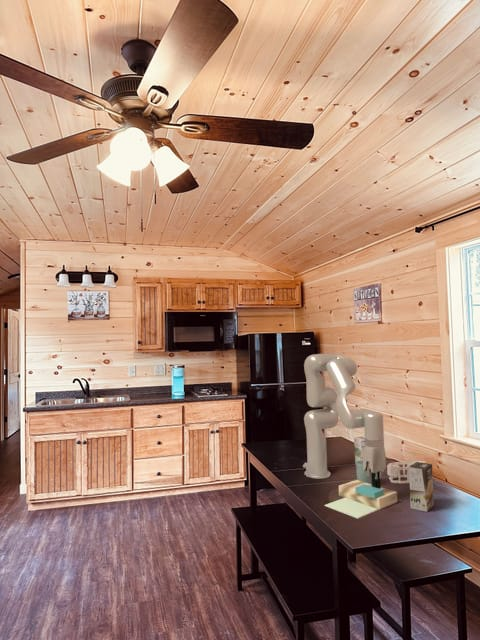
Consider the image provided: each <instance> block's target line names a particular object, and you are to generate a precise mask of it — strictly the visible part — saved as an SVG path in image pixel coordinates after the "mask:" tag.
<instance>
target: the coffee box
mask: <svg viewBox="0 0 480 640" xmlns="http://www.w3.org/2000/svg"><path fill="white" fill-rule="evenodd" d="M433 477H434V476H433V464H432V463H427V462H426V463H420V462H416V463H414V464H412V465H411V466H409V478H410V483H409V499H410V503H409V504H410V506H409V507H410V509H412V510H416V511H420V512H425V513H427V512H428V511H429V510H430V509H431V508H432V507H433V506H434V503H435V502H434V483H433V481H434V480H433Z"/></svg>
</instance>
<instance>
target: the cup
mask: <svg viewBox="0 0 480 640" xmlns="http://www.w3.org/2000/svg"><path fill="white" fill-rule="evenodd" d="M355 468H356V471H355V472H356V477H357V479H356V480H358V481H362V482H365V483H368V484H372V482H371V478H370V476H367V475H366V474H367V471H364V470H363V460H359V461H357V462H356V465H355Z"/></svg>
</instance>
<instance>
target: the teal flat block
mask: <svg viewBox="0 0 480 640" xmlns="http://www.w3.org/2000/svg"><path fill="white" fill-rule="evenodd" d="M355 491H356V493H359V494H362V495H365V496H368V497H371V498H374V499H375V498H377V497H380V496H382V495H384V492H383V490H382V489H379V488H376V487H372V486H369V485H366V484H364V485H361V486H358V487H355Z"/></svg>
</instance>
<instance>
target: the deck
mask: <svg viewBox="0 0 480 640" xmlns="http://www.w3.org/2000/svg"><path fill="white" fill-rule="evenodd" d="M364 484H366V485H369V486H372V484H368V483H365V482H362V481H358V479H355V480H351V481H349V482H346V483H343V484H340V485H338V496H339V497H342V498H347V499H350V500H353V501H356V502H359V503H362V504H365V505H368V506H370V507H373V508H376V509H378V511H379V510H382V509H384V508H387V507H389V506H392V505H394V504H396V503H398V492H397V491H395V490H391V489H388V488H385V487H382V486H381V489H382V490H383V492H384V495H382V496H380V497H377V498H375V499H374V498H371V497H368V496H365V495H362V494H359V493H356V491H355V487H358V486H361V485H364Z"/></svg>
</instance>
